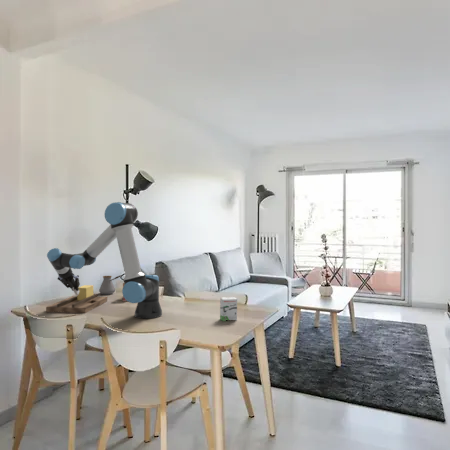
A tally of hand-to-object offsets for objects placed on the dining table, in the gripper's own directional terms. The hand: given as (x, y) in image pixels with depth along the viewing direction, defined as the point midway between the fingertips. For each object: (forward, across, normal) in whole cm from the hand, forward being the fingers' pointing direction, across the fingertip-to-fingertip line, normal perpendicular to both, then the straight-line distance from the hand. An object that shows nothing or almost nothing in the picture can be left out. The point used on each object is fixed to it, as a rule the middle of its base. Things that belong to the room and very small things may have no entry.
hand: (77, 293), depth 238 cm
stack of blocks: (+28, +25, +15) cm, 40 cm away
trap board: (+7, 0, -5) cm, 9 cm away
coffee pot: (+35, +5, +22) cm, 41 cm away
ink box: (-7, +96, -21) cm, 99 cm away
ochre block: (+10, 0, +3) cm, 11 cm away
